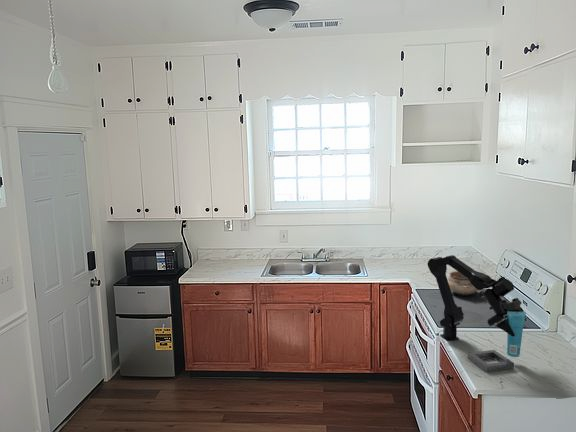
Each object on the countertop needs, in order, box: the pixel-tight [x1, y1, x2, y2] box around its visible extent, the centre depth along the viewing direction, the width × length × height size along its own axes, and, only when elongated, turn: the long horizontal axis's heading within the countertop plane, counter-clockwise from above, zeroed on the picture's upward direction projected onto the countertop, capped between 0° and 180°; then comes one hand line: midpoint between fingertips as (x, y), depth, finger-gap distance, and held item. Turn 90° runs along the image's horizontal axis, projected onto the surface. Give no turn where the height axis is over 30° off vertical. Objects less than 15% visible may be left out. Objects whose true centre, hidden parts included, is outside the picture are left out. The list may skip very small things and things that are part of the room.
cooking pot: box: [447, 270, 479, 297], centre depth 293 cm, size 25×19×12 cm
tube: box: [506, 311, 527, 358], centre depth 203 cm, size 7×5×19 cm, turn 92°
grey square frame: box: [467, 349, 515, 373], centre depth 204 cm, size 13×13×2 cm
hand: (517, 334), depth 202 cm, fingers closed on tube, 5 cm apart
